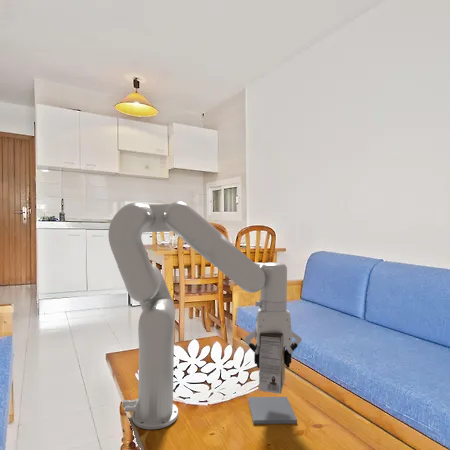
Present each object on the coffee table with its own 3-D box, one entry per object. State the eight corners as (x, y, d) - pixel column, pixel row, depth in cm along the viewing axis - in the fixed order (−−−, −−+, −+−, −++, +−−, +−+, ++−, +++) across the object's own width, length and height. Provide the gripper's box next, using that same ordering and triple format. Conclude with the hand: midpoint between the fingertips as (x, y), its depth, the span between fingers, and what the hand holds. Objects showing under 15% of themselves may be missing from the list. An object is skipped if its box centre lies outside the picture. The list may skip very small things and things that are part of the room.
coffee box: (264, 376, 102) (264, 324, 102) (285, 379, 100) (285, 326, 100) (258, 391, 93) (259, 333, 93) (281, 394, 91) (282, 336, 91)
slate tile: (253, 423, 90) (253, 420, 90) (248, 400, 102) (248, 397, 102) (297, 423, 91) (297, 419, 91) (286, 400, 103) (286, 396, 103)
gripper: (245, 309, 92) (244, 372, 92) (306, 308, 93) (306, 371, 93) (242, 302, 100) (241, 360, 100) (299, 302, 101) (298, 360, 101)
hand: (272, 365), depth 97 cm, fingers closed on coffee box, 7 cm apart
